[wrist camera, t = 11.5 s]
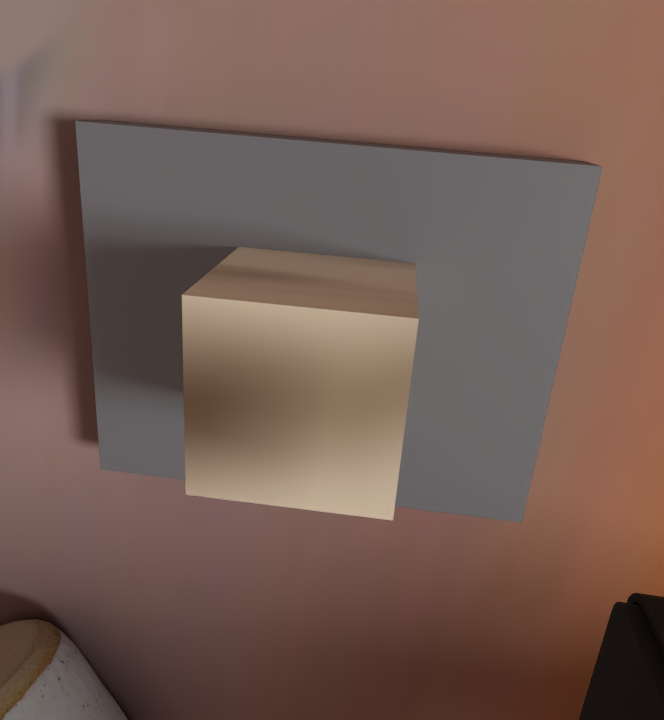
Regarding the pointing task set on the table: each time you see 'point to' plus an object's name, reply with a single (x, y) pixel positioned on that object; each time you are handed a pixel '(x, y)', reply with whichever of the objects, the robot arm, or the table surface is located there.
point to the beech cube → (299, 380)
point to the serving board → (348, 239)
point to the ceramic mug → (48, 677)
